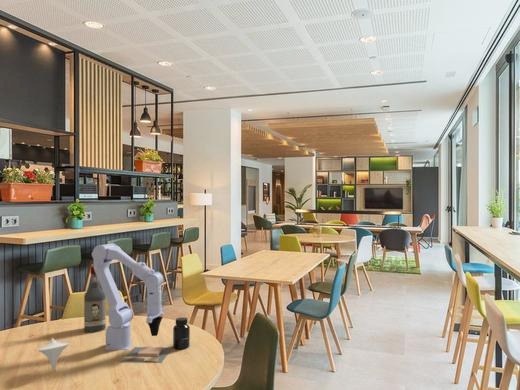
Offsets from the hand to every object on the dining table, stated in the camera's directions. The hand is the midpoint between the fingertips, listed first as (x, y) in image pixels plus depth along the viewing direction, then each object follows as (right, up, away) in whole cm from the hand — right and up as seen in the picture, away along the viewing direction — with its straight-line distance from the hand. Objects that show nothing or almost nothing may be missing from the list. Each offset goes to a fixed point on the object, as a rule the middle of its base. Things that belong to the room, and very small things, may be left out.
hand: (154, 335), depth 168 cm
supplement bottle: (+11, -6, +2) cm, 12 cm away
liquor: (-36, -7, +27) cm, 45 cm away
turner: (-3, -5, -12) cm, 13 cm away
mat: (-1, -6, -6) cm, 9 cm away
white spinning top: (-31, -6, -21) cm, 38 cm away
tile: (0, -5, -2) cm, 5 cm away
